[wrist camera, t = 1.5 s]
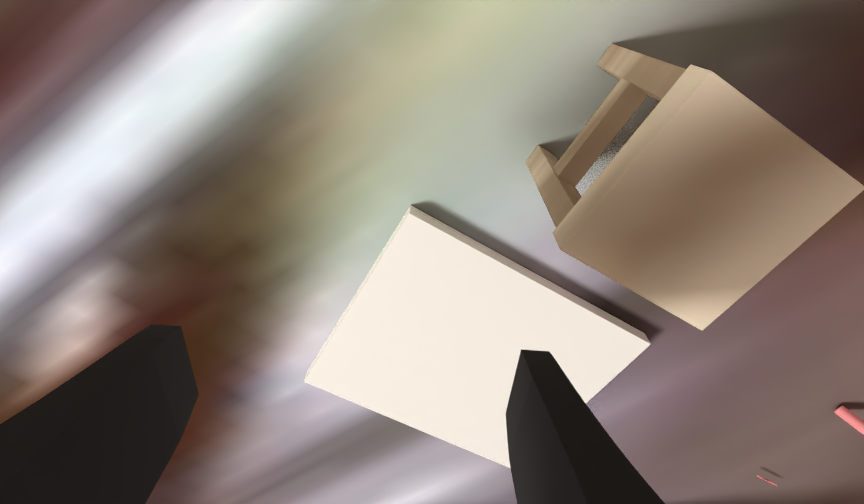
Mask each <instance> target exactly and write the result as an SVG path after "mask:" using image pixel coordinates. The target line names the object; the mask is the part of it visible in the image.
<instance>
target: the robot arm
mask: <svg viewBox="0 0 864 504" xmlns="http://www.w3.org/2000/svg"><path fill="white" fill-rule="evenodd" d="M198 395H199V394H198V390H197V386H196V382H195V378H194V375H193V371H192V367H191V363H190V360H189V356H188V352H187V348H186V344H185V341H184V337H183V333H182V329H181V326H168V325H153V324H151V325H150V326H148V327H147V328H145V329H143V330H142V331H140V332H139V333H137V334H136V335H134V336H133V337H131V338H130V339H128V340H127V341H125V342H124V343H122V344H121V345H119V346H118V347H116V348H115V349H113V350H112V351H111V352H109V353H108V354H106V355H105V356H103V357H102V358H100V359H99V360H97V361H96V362H95V363H93V364H92V365H90V366H89V367H87V368H86V369H84V370H83V371H81V372H80V373H78V374H77V375H75V376H74V377H72V378H71V379H70V380H68V381H67V382H65V383H64V384H62V385H61V386H59V387H58V388H56V389H55V390H53V391H52V392H50V393H49V394H47V395H46V396H44V397H43V398H41V399H40V400H38V401H37V402H35V403H33V404H32V405H30V406H29V407H27V408H25V409H24V410H22V411H21V412H19V413H18V414H16V415H14V416H13V417H11V418H10V419H8V420H6V421H5V422H3V423H2V424H0V504H145V503H146V501H147V499H148V498H149V496H150V494H151V492H152V490H153V489H154V487H155V485H156V483H157V482H158V480H159V478H160V476H161V474H162V473H163V471H164V469H165V467H166V465H167V463H168V462H169V460H170V458H171V456H172V454H173V453H174V451H175V449H176V447H177V445H178V443H179V441H180V439H181V437H182V434H183V432H184V430H185V427H186V425H187V423H188V420H189V418H190V415H191V413H192V410H193V407H194V405H195V402H196V400H197V397H198ZM505 414H506V427H507V441H508V452H509V461H510V467H511V472H512V478H513V483H514V488H515V493H516V499H517V504H665V503H664V502H663V501H662V500H661V499H660V497H659V496H658V495H657V494H656V493H655V492H654V490H653V489H652V488H651V487H650V486H649V485H648V483H647V482H646V481H645V480H644V479H643V477H642V476H641V475H640V474H639V473H638V471H637V470H636V469H635V468H634V467H633V465H632V464H631V463H630V462H629V460H628V459H627V458H626V457H625V455H624V454H623V453H622V452H621V450H620V449H619V448H618V446H617V445H616V444H615V443H614V441H613V440H612V439H611V437H610V436H609V435H608V433H607V432H606V431H605V429H604V428H603V427H602V425H601V424H600V423H599V421H598V420H597V419H596V417H595V416H594V415H593V413H592V412H591V410H590V409H589V408H588V406H587V405H586V403H585V402H584V401H583V399H582V398H581V396H580V395H579V393H578V392H577V391H576V389H575V388H574V386H573V385H572V383H571V382H570V380H569V379H568V377H567V376H566V374H565V373H564V371H563V370H562V369H561V367H560V366H559V364H558V363H557V361H556V360H555V358H554V357H553V355H552V354H551V353H550V352H549V351H537V350H522V349H521V352H520V356H519V360H518V364H517V368H516V372H515V376H514V381H513V385H512V389H511V393H510V397H509V401H508V405H507V409H506V413H505Z"/></svg>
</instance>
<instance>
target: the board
mask: <svg viewBox="0 0 864 504" xmlns="http://www.w3.org/2000/svg"><path fill="white" fill-rule="evenodd" d="M649 345H650V342H649V340H648V338H647V337H646V335H645V333H643V332H642V331H640V330H638V329H636V328H634V327H632V326H631V325H629V324H627V323H625V322H623V321H621V320H620V319H618V318H616V317H614V316H612V315H610V314H609V313H607V312H605V311H603V310H601V309H599V308H598V307H596V306H594V305H592V304H590V303H588V302H587V301H585V300H583V299H581V298H579V297H578V296H576V295H574V294H572V293H570V292H568V291H567V290H565V289H563V288H561V287H559V286H557V285H556V284H554V283H552V282H550V281H548V280H546V279H545V278H543V277H541V276H539V275H537V274H535V273H534V272H532V271H530V270H528V269H526V268H524V267H523V266H521V265H519V264H517V263H515V262H514V261H512V260H510V259H508V258H506V257H504V256H503V255H501V254H499V253H497V252H495V251H493V250H492V249H490V248H488V247H486V246H484V245H482V244H481V243H479V242H477V241H475V240H473V239H471V238H470V237H468V236H466V235H464V234H462V233H460V232H459V231H457V230H455V229H453V228H451V227H449V226H448V225H446V224H444V223H442V222H440V221H439V220H437V219H435V218H433V217H431V216H429V215H428V214H426V213H424V212H422V211H420V210H418V209H417V208H415V207H413V206H411V205H410V207H409V209H408V210H407V212H406V213H405V215H404V217H403V218H402V220H401V221H400V223H399V225H398V226H397V228H396V229H395V231H394V233H393V234H392V236H391V238H390V239H389V241H388V242H387V244H386V246H385V247H384V249H383V250H382V252H381V254H380V255H379V257H378V258H377V260H376V262H375V263H374V265H373V266H372V268H371V270H370V271H369V273H368V274H367V276H366V278H365V279H364V281H363V282H362V284H361V286H360V287H359V289H358V291H357V292H356V294H355V295H354V297H353V299H352V300H351V302H350V303H349V305H348V307H347V308H346V310H345V311H344V313H343V315H342V316H341V318H340V319H339V321H338V323H337V324H336V326H335V327H334V329H333V331H332V332H331V334H330V336H329V337H328V339H327V340H326V342H325V344H324V345H323V347H322V348H321V350H320V352H319V353H318V355H317V356H316V358H315V360H314V361H313V363H312V364H311V366H310V368H309V369H308V371H307V374H306V377H305V380H304V382H306V383H308V384H311V385H313V386H315V387H318V388H320V389H323V390H325V391H327V392H330V393H332V394H334V395H337V396H339V397H342V398H344V399H346V400H349V401H351V402H354V403H356V404H358V405H361V406H363V407H366V408H368V409H370V410H373V411H375V412H377V413H380V414H382V415H385V416H387V417H389V418H392V419H394V420H397V421H399V422H401V423H404V424H406V425H408V426H411V427H413V428H416V429H418V430H420V431H423V432H425V433H428V434H430V435H432V436H435V437H437V438H440V439H442V440H444V441H447V442H449V443H451V444H454V445H456V446H459V447H461V448H463V449H466V450H468V451H471V452H473V453H475V454H478V455H480V456H482V457H485V458H487V459H490V460H492V461H494V462H497V463H499V464H502V465H504V466H506V467H509V468H511V467H510V461H509V452H508V441H507V427H506V414H505V413H506V409H507V405H508V401H509V397H510V393H511V389H512V385H513V381H514V376H515V372H516V368H517V364H518V360H519V356H520V352H521V349H522V350H537V351H549V352H550V353H551V354H552V355H553V357H554V358H555V360H556V361H557V363H558V364H559V366H560V367H561V369H562V370H563V371H564V373H565V374H566V376H567V377H568V379H569V380H570V382H571V383H572V385H573V386H574V388H575V389H576V391H577V392H578V393H579V395H580V396H581V398H582V399H583V401H584V402H585V403H587V402H588V401H589V400H590V399H591V398H592V397H593V396H595V395H596V394H597V393H598V392H599V391H600V390H601V389H602V388H603V387H604V386H606V385H607V384H608V383H609V382H610V381H611V380H612V379H613V378H614V377H615V376H616V375H618V374H619V373H620V372H621V371H622V370H623V369H624V368H625V367H626V366H627V365H629V364H630V363H631V362H632V361H633V360H634V359H635V358H636V357H637V356H638V355H639V354H641V353H642V352H643V351H644V350H645V349H646V348H647V347H648V346H649Z"/></svg>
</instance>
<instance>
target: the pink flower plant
mask: <svg viewBox="0 0 864 504" xmlns="http://www.w3.org/2000/svg"><path fill="white" fill-rule="evenodd" d="M835 413H836V414H837V415H838V416H840V417H841V418H842V419H844V420H845V421H846V422H847V423H849V424H850V425H851V426H853V427H854V428H855V429H857V430H858V431H859V432H860V433H862V434H863V435H864V421H863V420H861V419H860V418H859V417H857V416H856V415H855V414H853V413H852V412H851V411H849V410H848V409H847V408H845V407H844V406H841V407H839V408H838V409H837V410H836V411H835ZM756 476H757V477H759V478H761V479H763V480H765V481H767V482H769V483H771V484H773V485H776V486H777V484H775V483H773V482H770V481H768V480H766V479H764V478H762V477H760V476H758V475H756Z"/></svg>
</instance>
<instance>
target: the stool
mask: <svg viewBox="0 0 864 504" xmlns="http://www.w3.org/2000/svg"><path fill="white" fill-rule="evenodd" d="M597 65H598V66H599V67H600V68H602V69H603V70H605V71H606V72H608V73H609V74H610V75H612V76H613V77H615V78H617V79H619V82H618V83H617V84H616V86H615V87H614V88H613V90H612V91H611V92H610V94H609V95H608V96H607V98H606V99H605V100H604V101H603V103H602V104H601V105H600V107H599V108H598V109H597V111H596V112H595V113H594V115H593V116H592V117H591V119H590V120H589V121H588V123H587V124H586V125H585V126H584V128H583V129H582V130H581V132H580V133H579V134H578V136H577V137H576V138H575V140H574V141H573V142H572V144H571V145H570V146H569V148H568V149H567V150H566V151H565V153H564V154H563V155H562V157H561V158H560V159H559V161H558V160H557V158H556V157H555V155H553V154H552V153H550V152H549V151H547V150H545V149H544V148H542V147H541V146H539V145H538V146H537V147H536V149H535V150H534V152H533V153H532V154H531V156H530V157H529V158H528V160H527V161H526V163H527V165H528V168H529V170H530V172H531V174H532V176H533V179H534V181H535V183H536V185H537V187H538V189H539V192H540V194H541V196H542V198H543V200H544V203H545V205H546V207H547V209H548V211H549V214H550V216H551V218H552V220H553V222H554V224H555V227H556V229H555V230H554V231H553V234H554V237H555V239H556V241H557V244H558V246H559V248H560V250H562V251H563V252H565V253H567V254H569V255H570V256H572V257H574V258H576V259H577V260H579V261H581V262H583V263H584V264H586V265H588V266H590V267H591V268H593V269H595V270H597V271H598V272H600V273H602V274H604V275H605V276H607V277H609V278H611V279H612V280H614V281H616V282H618V283H619V284H621V285H623V286H625V287H626V288H628V289H630V290H632V291H633V292H635V293H637V294H639V295H640V296H642V297H644V298H646V299H647V300H649V301H651V302H653V303H655V304H656V305H658V306H660V307H662V308H663V309H665V310H667V311H669V312H670V313H672V314H674V315H676V316H677V317H679V318H681V319H683V320H684V321H686V322H688V323H690V324H691V325H693V326H695V327H697V328H698V329H700V330H703V329H705V328H706V327H707V326H708V325H709V324H710V323H711V322H713V321H714V320H715V319H716V318H717V317H718V316H719V315H721V314H722V313H723V312H724V311H725V310H726V309H728V308H729V307H730V306H731V305H732V304H733V303H734V302H736V301H737V300H738V299H739V298H740V297H741V296H742V295H744V294H745V293H746V292H747V291H748V290H749V289H750V288H752V287H753V286H754V285H755V284H756V283H757V282H759V281H760V280H761V279H762V278H763V277H764V276H765V275H767V274H768V273H769V272H770V271H771V270H772V269H773V268H775V267H776V266H777V265H778V264H779V263H780V262H781V261H783V260H784V259H785V258H786V257H787V256H788V255H789V254H791V253H792V252H793V251H794V250H795V249H796V248H798V247H799V246H800V245H801V244H802V243H803V242H804V241H806V240H807V239H808V238H809V237H810V236H811V235H812V234H814V233H815V232H816V231H817V230H818V229H819V228H820V227H822V226H823V225H824V224H825V223H826V222H827V221H829V220H830V219H831V218H832V217H833V216H834V215H835V214H837V213H838V212H839V211H840V210H841V209H842V208H843V207H845V206H846V205H847V204H848V203H849V202H850V201H851V200H853V199H854V198H855V197H856V196H857V195H858V194H860V193H861V192H862V191H863V190H864V186H863V185H862V184H861V183H859V182H858V181H857V180H855V179H854V178H853V177H851V176H850V175H849V174H847V173H846V172H845V171H843V170H842V169H841V168H839V167H838V166H837V165H835V164H834V163H833V162H831V161H830V160H829V159H827V158H826V157H825V156H823V155H822V154H821V153H820V152H818V151H817V150H816V149H814V148H813V147H812V146H810V145H809V144H808V143H806V142H805V141H804V140H802V139H801V138H800V137H798V136H797V135H796V134H794V133H793V132H792V131H790V130H789V129H788V128H786V127H785V126H784V125H782V124H781V123H780V122H779V121H777V120H776V119H775V118H773V117H772V116H771V115H769V114H768V113H767V112H765V111H764V110H763V109H761V108H760V107H759V106H757V105H756V104H755V103H753V102H752V101H751V100H749V99H748V98H747V97H745V96H744V95H743V94H741V93H740V92H739V91H738V90H736V89H735V88H734V87H732V86H731V85H730V84H728V83H727V82H726V81H724V80H723V79H722V78H720V77H719V76H718V75H716V74H715V73H714V72H712V71H710V70H707V69H704V68H701V67H697V66H694V65H691V64H690V66H689V67H688V68H687V69H685V68H682V67H679V66H676V65H673V64H670V63H667V62H664V61H661V60H658V59H655V58H652V57H649V56H646V55H644V54H641V53H638V52H635V51H632V50H629V49H626V48H623V47H620V46H617V45H614V44H611V45H610V47H609V48H608V49H607V51H606V52H605V53H604V55H603V56H602V58H601V59H600V60H599V62H598V63H597ZM648 95H649V96H650V97H652V98H654V99H656V100H658V101H660V102H659V103H658V105H657V106H656V107H655V108H654V109H653V111H652V112H651V113H650V114H649V116H648V117H647V118H646V119H645V120H644V122H643V123H642V124H641V125H640V127H639V128H638V129H637V130H636V131H635V133H634V134H633V135H632V136H631V137H630V139H629V140H628V141H627V142H626V144H625V145H624V146H623V147H622V148H621V150H620V151H619V152H618V153H617V155H616V156H615V157H614V158H613V159H612V161H611V162H610V163H609V164H608V166H607V167H606V168H605V169H604V170H603V172H602V173H601V174H600V175H599V176H598V178H597V179H596V180H595V181H594V183H593V184H592V185H591V186H590V187H589V189H588V190H587V191H586V192H585V194H584V195H583V196H582V197H581V195H580V194H579V192H578V191H577V189H576V188H575V186H576V185H577V184H578V182H579V181H580V180H581V179H582V177H583V176H584V175H585V174H586V172H587V171H588V170H589V169H590V167H591V166H592V165H593V164H594V162H595V161H596V160H597V159H598V157H599V156H600V155H601V154H602V152H603V151H604V150H605V149H606V147H607V146H608V145H609V144H610V142H611V141H612V140H613V139H614V137H615V136H616V135H617V134H618V132H619V131H620V130H621V129H622V127H623V126H624V125H625V124H626V122H627V121H628V120H629V119H630V118H631V116H632V115H633V114H634V113H635V111H636V110H637V109H638V108H639V106H640V105H641V104H642V103H643V101H644V100H645V99H646V98H647V96H648Z"/></svg>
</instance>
